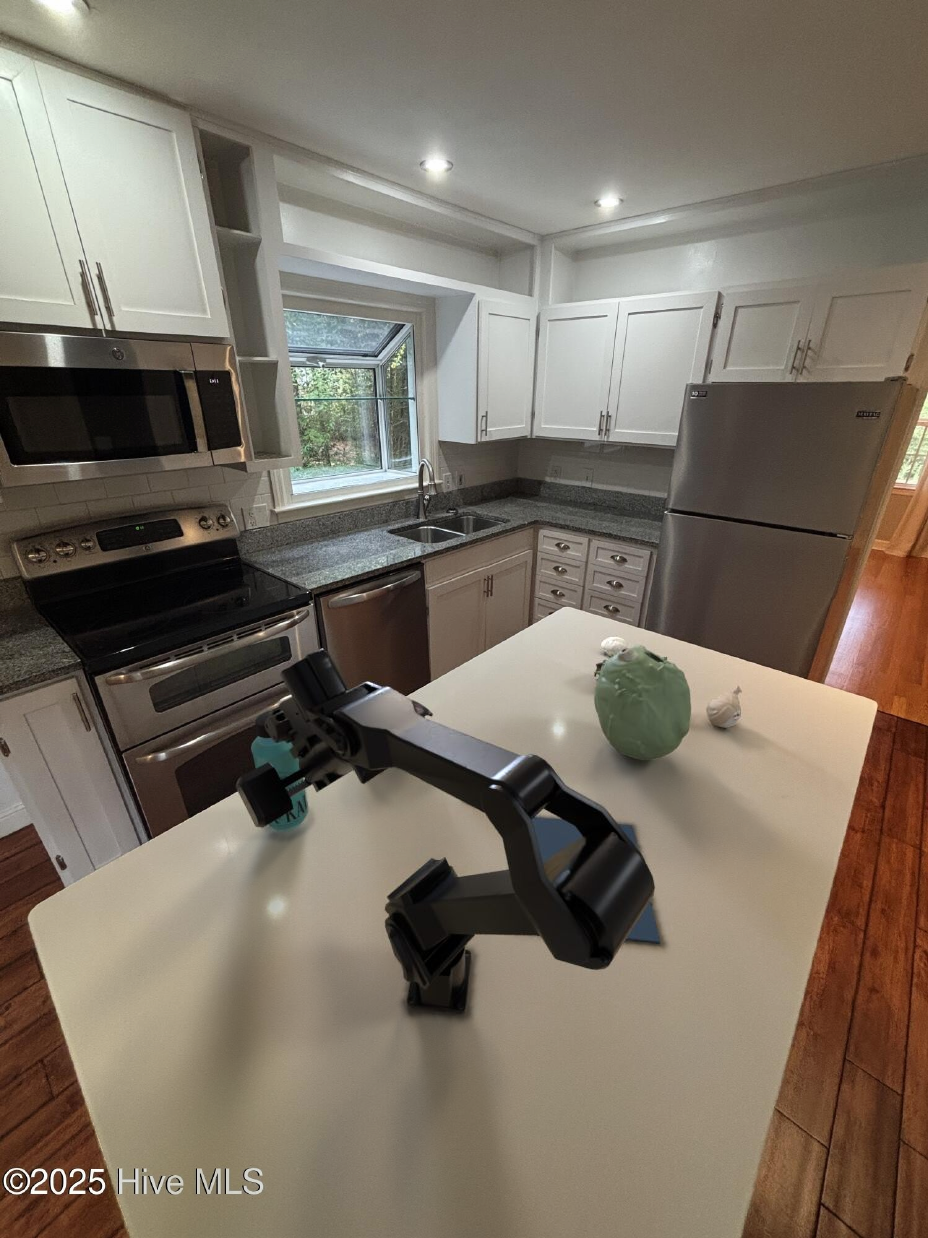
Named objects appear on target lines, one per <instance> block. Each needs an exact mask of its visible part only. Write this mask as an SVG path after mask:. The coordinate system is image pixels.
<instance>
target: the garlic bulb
mask: <svg viewBox="0 0 928 1238" xmlns="http://www.w3.org/2000/svg"><path fill="white" fill-rule="evenodd" d="M742 693H743V691H742V690H741V688H740V686H739V685H737V686H736V687H735V688H734V690H733V691H727V692H725V693H722V694H721V695H720V696H718V697H715V698H712V699H710V700H709V702H708V703H707V705H706V708H705V712H706V716H707V718H708V719H709V721H710V722H711V723H712V724H713V725H714V726H717V727H720V728H732V727H733V726H735V725H736V724H737V723H738V722H739V720H740V719H741V717H742V716H741V715H742V709H741V705H740V703H741V702H740V699H739V694H742Z"/></svg>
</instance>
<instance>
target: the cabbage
mask: <svg viewBox="0 0 928 1238" xmlns="http://www.w3.org/2000/svg"><path fill="white" fill-rule="evenodd" d="M610 655H611V656H612V657H611V656H609V657H608V658H607V659H606V658H605V659H602V662H603V665H602V667H601V671H597V672H595V671H594V672H593V674H594V673H595V674H597V678H595V681H596V685H595V691H594V696H593V702H594V703H593V704H594V709H595V712H596V714H597V718H598V721H599V725H600V728H601V730H602V732H603V735H604V736H605V738H607V740H608V741H609V744H610V745H611V746H613V747H614V749H616V750H617V751H618V752H619V753H621V754H622V755H624V756H626V757H631V758H633V759H637V760H641V761H653V760H658V759H661V758H664V757H666V756H667V755H669V754H671V753H673V752H674V751H676V750H677V749H678V748H679V747H680V745H681V744H682V741H683V739H684V738H685V737H686V736H687V735H688V733H689V732H690V727H691V715H692V701H691V699H692V697H691V689H690V686H689V684H688V680H687V678H686V675H685V673H684V671H683V670H682V669H680V668H679V667H678V666H677V665H676V663H674V662H670V661H669V660H668V656H660V655H658V654H656V653H654V652H653V651H651V650H649V649H647V648H646V646H645V645H643V644H635V645H634V646H633V647H630V648H628V647H627V648H623V649H622V650H620V651H618V652H617V654H610Z"/></svg>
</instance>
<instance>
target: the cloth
mask: <svg viewBox="0 0 928 1238" xmlns="http://www.w3.org/2000/svg"><path fill="white" fill-rule="evenodd" d="M531 821H532V823H533V825H534V830H535V834H536V838H537V842H538V846H539V850H540V854H541V858H542V862H543V863H544V862H545V861H547V860H548V859H550V858H551V857H552V856H554V855H555V854H557V853H558V852H559V851H561V850H562V849H563V848H565V847H566V846H568V845H569V844H570V843H572V842H574V841H576V840H578V839H580V838H582V837H583V836H582V835H581V833H580V832H579V831H578V829H577V828H576V827H575V826H574V825H572V824H570V823H568V822H567V821H565V820H563V819H561V818H551V817H550V818H549V817H539V816H535V817H534V818H533V819H532V820H531ZM617 824H618V825H619V826H620V827H621V829H622V830H623V831H624V832H625V834H626V835H627V836H628V838H629V839H630V840H631V841H632V843H633V844H634V845H635V846H636V848H637V849H638V845H637V841H636V837H635V833H634V828H633V825H632V824H625V823H623V824H622V823H617ZM626 940H627V941H637V942H646V943H656V944H661V939H660V935H659V931H658V926H657V922H656V919H655V914H654V911H653V905H652V902H651V901H650V902H649V904H648V905H647V907H646V908H645V910H644V911H643V913H642V915H641V916H640V918H639V919H638V921H637V922H636V924H635V926H634V927H633V929H632V930H631V932H630V933H629V935H628V937H627V938H626Z"/></svg>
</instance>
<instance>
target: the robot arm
mask: <svg viewBox="0 0 928 1238" xmlns="http://www.w3.org/2000/svg"><path fill="white" fill-rule="evenodd" d="M279 675H280V678H281V679H282V681H283V683H284V685H285V686H286V688H287V690H288V692H289V694H290V696H291V697H289V698H288V699H285V700H283V701H282V702H280V703H279V705H278V706H277V707H275V708H273V709H272V710H271V711H272V713H270V714H268V717H269V718H267V719H266V720H265V729H266V731H267V732H268V734H269V735H270V737H271V738H272V739H273V741H274V742H275V743H279V742H281V741H285V742H286V743H287V744H288V743H290V742H291V743H292V745H293V747H292V748H291V749H290V752H291V754H292V756H293V758H294V759H296V758H299V769H300V770H298V771H296V772H295V773H293V774H291V775H289V776H287V777H286V778H284V779H282V780H281V779H280V777H279V775H278V773H277V771H276V769H275V767H274V766H273V765H272V764H271V763H270V762H267V763H266V764H264V765H262V766H260V767H258V768H256V767H255V768H254V769H252V770H251V771H248V772H247V773H245V774H243V775H240V777H239V778H238V779H237V782H236V784H235V789H236V791H237V793H238V795H239V797H240V799H241V800H242V803H243V805H244V806H245V809H246V810H247V813H248V814H249V816H250V819H251V821H252V822H253V825H254V827H256V828H260V829H264V828H265V827H267V826H269V824H270V823H272V822H273V821H275V820H277V819H278V818H280V817H282V816H283V815H285V814H286V813H288V812H290V811H291V810H293V804H292V800H291V798H290V797H292V796H294V795H296V794H297V793H299V792H301V791H302V790H304V789H305V790H307V788H309V787H310V786H312V787H313V789H314V791H315V793H319V792H320V791H321V790H323V789H325V788H326V787H328V786H330V785H331V784H333V783H335V782H336V781H338V780H339V779H341V778H343V777H345V776H346V775H348V774H350V773H352V772H353V771H354V773H355V775H356V777H357V779H358V780H359V782H360V784H361V785H365V784H367V783H368V782H370V781H371V780H373V779H375V778H376V777H378V776H379V775H381V774H383V772H386V771H387V770H388V769H398V770H400V771H403V772H405V773H407V774H409V775H411V776H412V777H415V778H416V779H419V780H420V781H423V782H425V783H426V784H428V785H430V786H431V787H434V788H435V789H437V790H439V791H441V792H443V793H445V794H447V795H449V796H450V797H452V798H456V799H457V800H459V801H461V802H462V803H464V804H466V805H469V806H470V807H472V808H473V809H476V810H478V811H480V812H482V813H484V814H485V816H486V817H487V819H488V821H489V822H490V823H491V824H492V826H493V827H494V829H495V830H496V832H497V833H498V835H499V837H501V839H502V843H503V848H504V854H505V857H506V862H507V863H506V864H507V867H508V869H503V870H496V871H488V872H482V873H476V874H469V875H463V876H458V874H457V872H456V870H455V869H454V866H453V865H450V864H449V862H448V860H447V858H446V856H444V857H442V858H441V859H435V858H433V857H431V858H430V859H428V860H427V861H426V862H425V863H424V864H423V865H421V866H420V867H419V868H418V869H417V870H416V871H414V872H413V873H412V874H411V875H409V877H408V878H406V879H405V880H404V881H403V882H402V883H401V884H399V885H398V886H397V887H396V888H395V889H394V890H393V891H392V892H390V893H389V894H388V895H386V898H387V900H388V902H387V903H385V906H384V911H385V912H386V913H387V915H388V916H387V917H386V918H385V919H384V928H385V931H386V934H387V937H388V940H389V943H390V947H391V949H392V953H393V955H394V957H395V959H396V960H397V961H398V962H399V964H400V966H401V968H402V976H403V979H404V980H405V981H406V982H407V983H408V982H409V988H408V993H407V998H406V1004H407V1006H408V1007H409V1008H415V1009H423V1010H430V1011H439V1012H447V1013H454V1014H464V1013H465V1012H466V1010H467V1002H468V991H469V982H470V970H471V961H472V960H471V959H472V952H471V951H470V950H469V949H466V945H467V944H468V943H469V942H470V941H471V940H472V939H473V938H474V937H475V936H476V935H480V936H481V935H483V936H486V935H487V936H524V937H525V936H526V937H530V936H531V937H540V938H541V940H542V941H543V943H544V944H545V946H546V947H547V949H548V951H549V952H550V954H551V955H552V957H553V959H555V960H556V961H560V962H563V963H566V964H570V965H574V966H578V967H581V968H584V969H588V970H591V971H592V970H593V971H602V970H606V969H607V968H608V967H609V966H610V965H611V963H612V962H613V960H614V958H615V957H616V955H617V954H618V952H619V951H620V949H621V948H622V946H623V945H624V943H625V941H626V940H627V939H626V938H627V937H628V935H629V933H630V932H631V930H632V929H633V927H634V926H635V924H636V922H637V921H638V919H639V918H640V916H641V915H642V913H643V911H644V910H645V908H646V907H647V905H648V904H649V902H651V901H652V899H653V897H654V896H655V889H656V886H655V881H654V876H653V874H652V872H651V870H650V868H649V866H648V864H647V862H646V860H645V858H644V856H643V855H642V853H641V851H640V850H639V849H638V847H637V848H636V846H635V845H634V844H633V843H632V841H631V840H630V839H629V838H628V836H627V835H626V834H625V832H624V831H623V830H622V829H621V827H620V826H619V825H618V824H619V823H618V822H617V820H616V819H615V818H614V817H613V816H612V815H611V813H610V812H609V811H608V809H607V808H606V807H604V806H603V805H601V804H600V803H598V802H596V801H595V800H593V799H591V798H589V797H587V796H585V795H584V794H582V793H580V792H579V791H576V790H575V789H573V788H571V787H569V786H567V785H566V783H565V782H564V781H563V780H562V779H561V777H560V776H559V774H558V773H557V771H555V769H554V768H553V766H552V765H550V763H549V762H548V761H547V760H546V759H545V758H543V757H541V756H539V755H537V754H532V753H529V754H526V755H522V754H518V753H516V752H513V751H510V750H507V749H505V748H502V747H500V746H497V745H495V744H492V743H490V742H487V741H485V740H482V739H479V738H477V737H474V736H472V735H469V734H466V733H464V732H462V731H459V730H456V729H454V728H452V727H450V726H446V725H443V724H441V723H438V722H436V721H434V720H430V719H429V718H426V717H425V718H424V717H422V716H421V715H419V714H418V712H417V710H416V707H415V704H414V702H413V700H414V699H411V698H410V697H408V696H406V695H405V694H403V693H401V692H399V691H398V690H396V689H394V688H392V687H390V686H380V685H378V684H376V683H374V682H371V681H368V680H367V681H365V682H362V683H361V684H358V685H356V686H354V687H352V688H349V686H348V684H347V683H346V680H345V679H344V677H343V675H342V673H341V672H340V669H339V668H338V666H337V664H336V663H335V661H334V660H333V658H332V656H331V654H330V652H329V651H328V650H325V649H324V648H320V649H318V650H315V651H312V652H310V653H308V654H306V655H305V657H304V658H302V659H300V660H299V661H297V662H295V663H293V664H292V665H290V666H289V667H287V668H285V669H283V670H281V672H280V673H279ZM302 778H303V779H304V782H303V781H301V783H298V785H297V784H296V785H295V787H294V786H292V789H291V788H289V791H288V790H286V787H288V786H290V785H292V784H293V783H295V782H297V781H298V780H300V779H302ZM543 810H545V811H546V812H548V813H550V814H552V815H554V816H556V817H558V819H563V820H565V821H567V822H568V823H570V824H572V825H574V826H575V827H576V828H577V829H578V831H579V832H580V833H581V835H582V836H583V837H582V838H580V839H578V840H576V841H574V842H572V843H570V844H569V845H568V846H566V847H565V848H563V849H562V850H561V851H559V852H558V853H557V854H555V855H554V856H552V857H551V858H550V859H548V860H547V861H545V862H544V863H543V862H542V858H541V854H540V850H539V846H538V842H537V838H536V834H535V830H534V825H533V823H532V821H531V820H532V819H533V818H534V817H537V816H538V815H539V814H540V813H541V812H542V811H543ZM411 1000H413V1001H412V1002H411ZM460 1007H462V1008H460Z"/></svg>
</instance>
